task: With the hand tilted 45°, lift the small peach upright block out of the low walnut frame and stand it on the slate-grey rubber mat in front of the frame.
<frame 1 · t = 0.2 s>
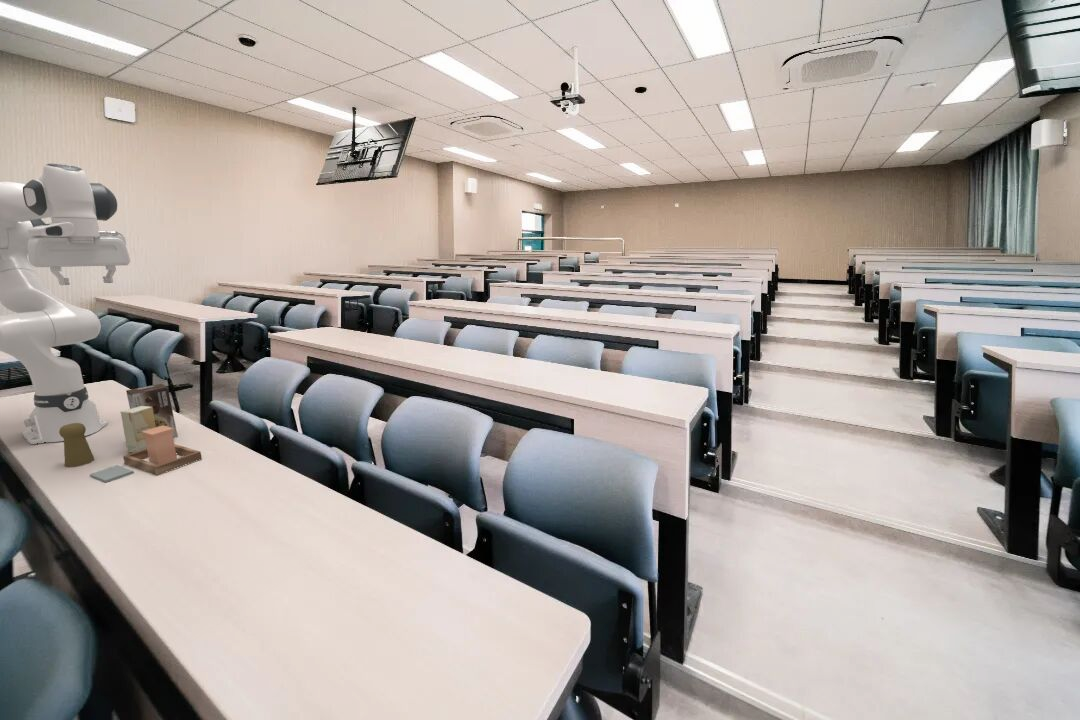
hand: (87, 283, 132), 48 cm above the table, tool pointing down, fingers open, 8 cm apart
skincare box: (144, 449, 145), on the table
walnut frame: (163, 461, 136), on the table
slate mat: (112, 474, 129), on the table
peach upright block: (160, 445, 135), in the walnut frame
coffee box: (157, 439, 153), on the table
cork: (80, 463, 136), on the table
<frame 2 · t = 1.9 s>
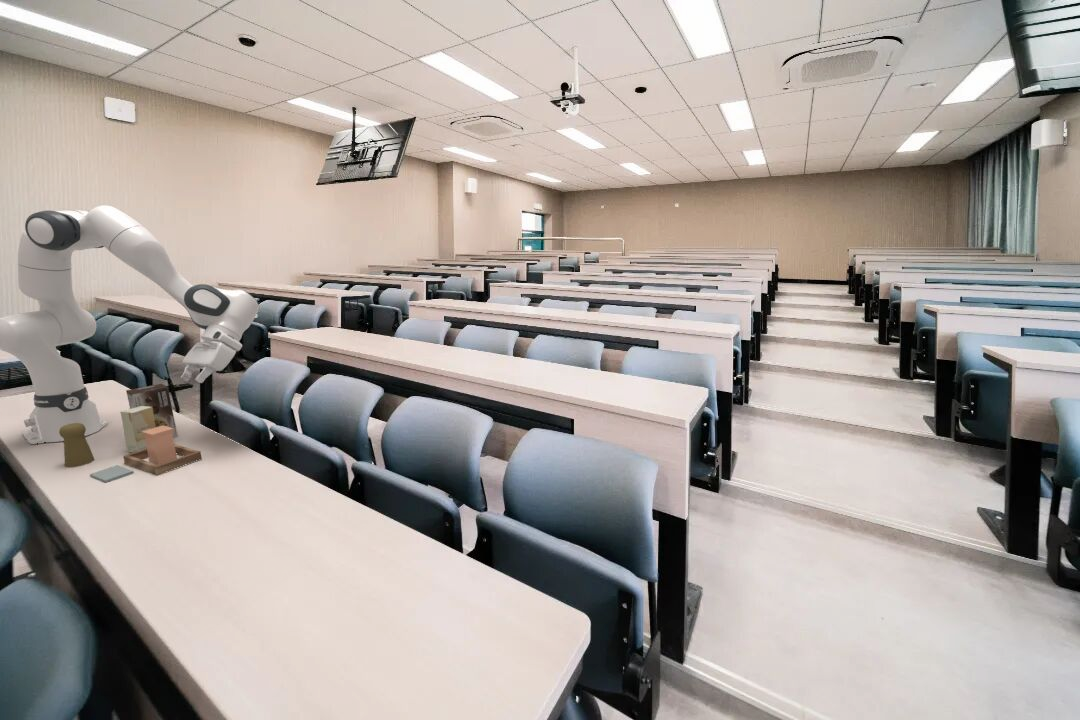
hand: (190, 380, 140), 20 cm above the table, tool tilted 45°, fingers open, 8 cm apart
nothing on the table moved.
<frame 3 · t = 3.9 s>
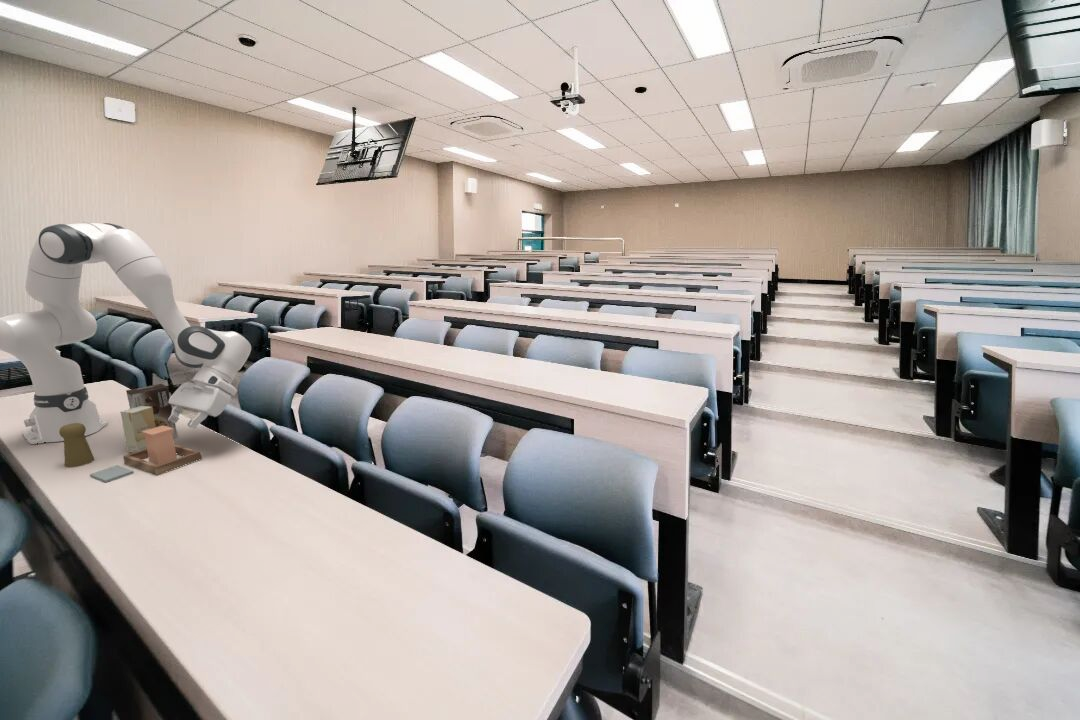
hand: (180, 424, 139), 9 cm above the table, tool tilted 45°, fingers open, 8 cm apart
nothing on the table moved.
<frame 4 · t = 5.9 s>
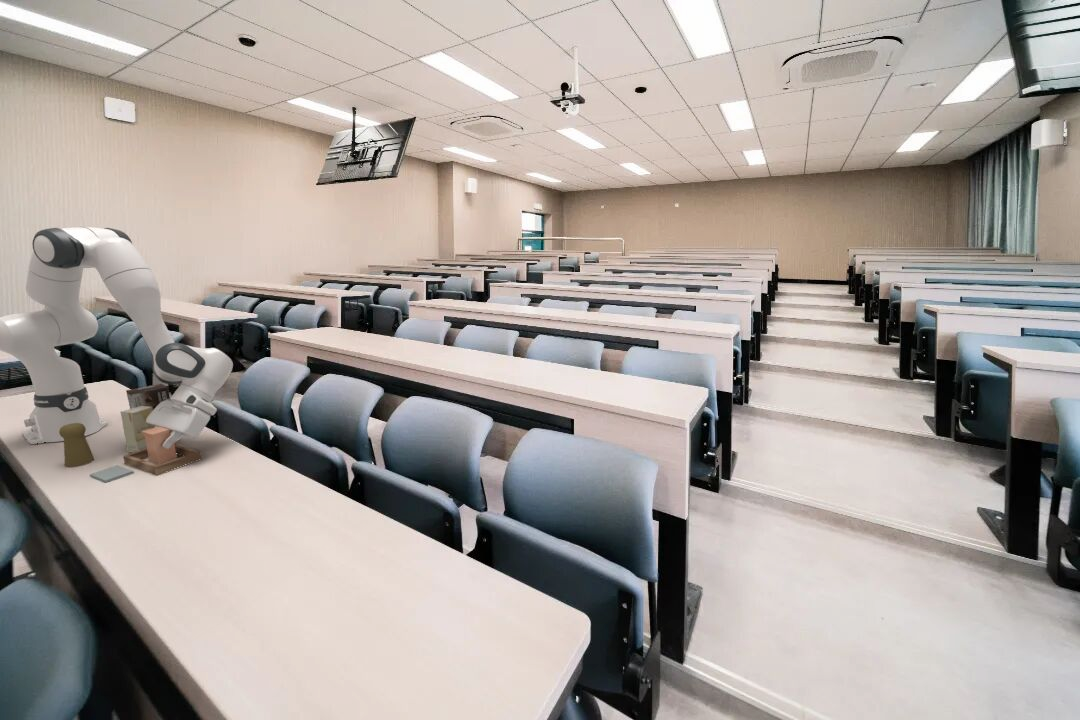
hand: (157, 445, 135), 5 cm above the table, tool tilted 45°, fingers closed on peach upright block, 5 cm apart
peach upright block: (160, 445, 135), in the walnut frame, touching gripper
everything else where it was.
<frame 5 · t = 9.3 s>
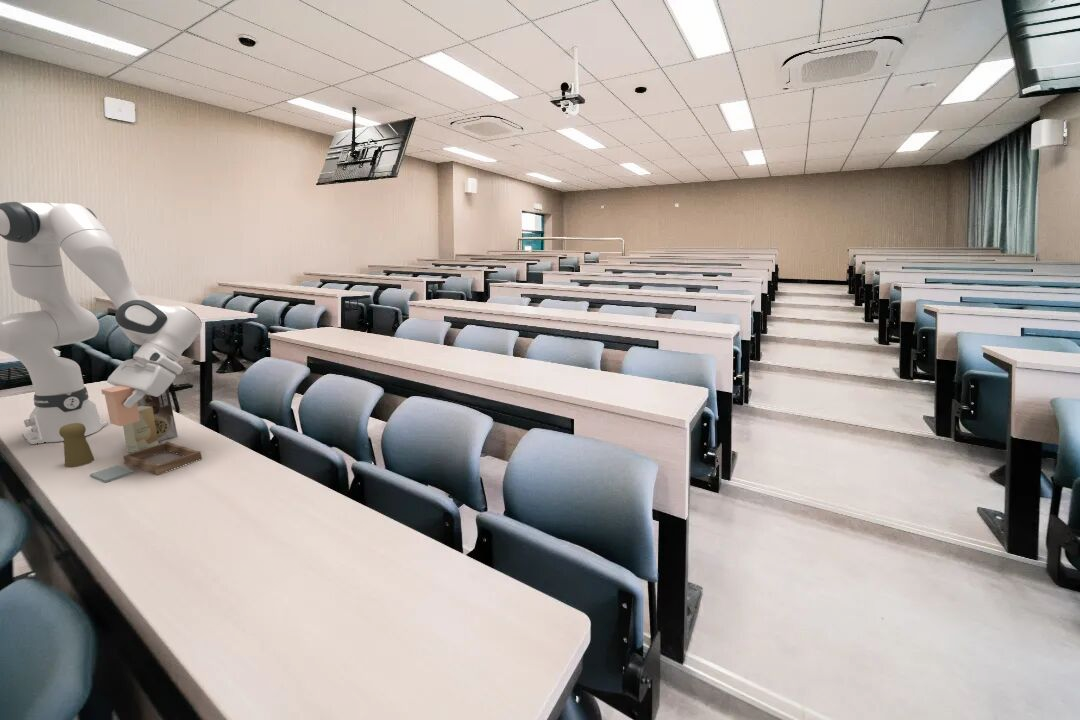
hand: (118, 404, 128), 18 cm above the table, tool tilted 45°, fingers closed on peach upright block, 5 cm apart
peach upright block: (122, 405, 128), point 18 cm above the table, touching gripper
everything else where it was.
when the fingers open (6 cm above the table, at t = 13.0 s): peach upright block stays where it is, resting on slate mat.
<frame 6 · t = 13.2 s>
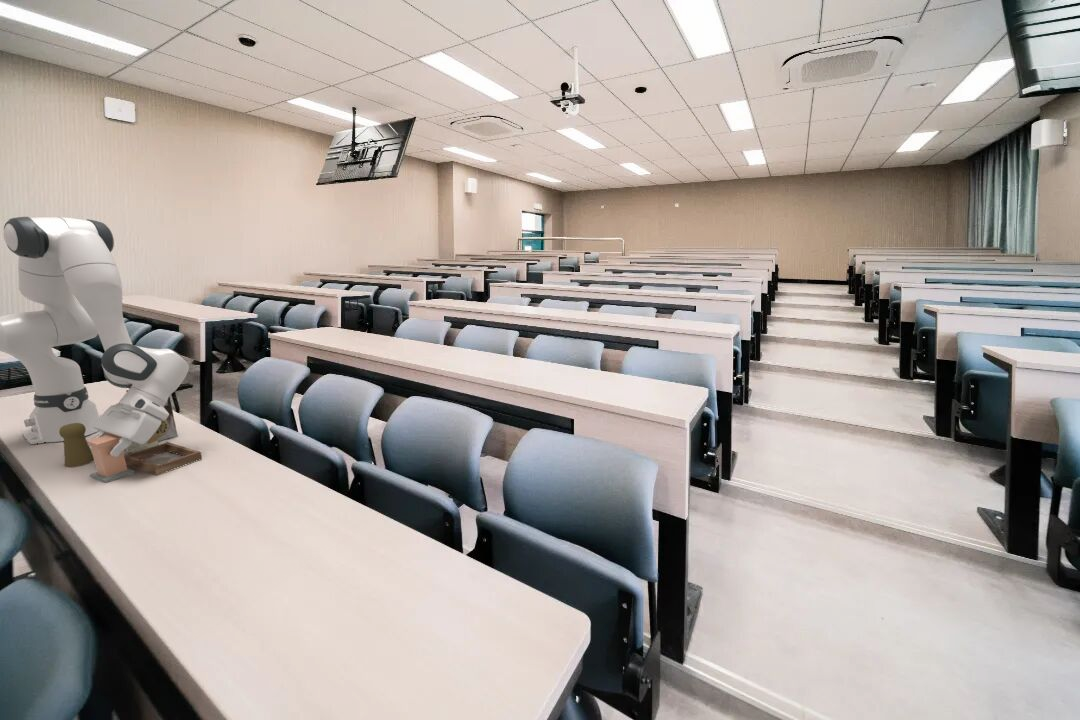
hand: (104, 452, 127), 6 cm above the table, tool tilted 45°, fingers open, 6 cm apart
peach upright block: (108, 455, 128), on the slate mat, point 5 cm above the table
everything else where it was.
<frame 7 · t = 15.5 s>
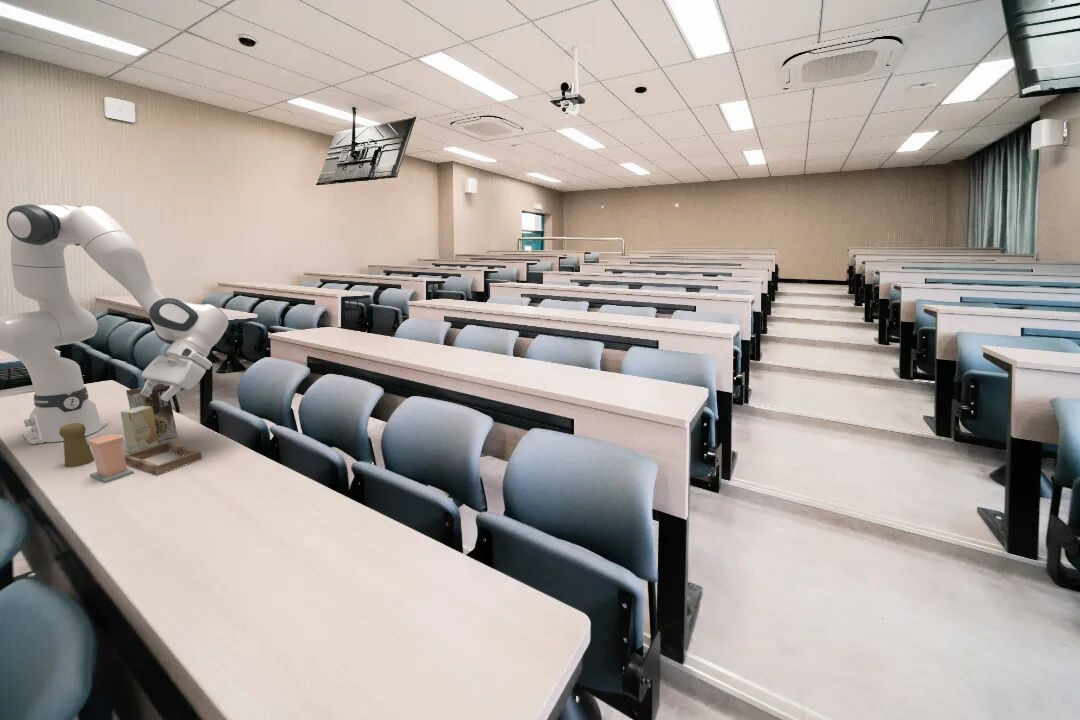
hand: (153, 397, 135), 17 cm above the table, tool tilted 45°, fingers open, 8 cm apart
nothing on the table moved.
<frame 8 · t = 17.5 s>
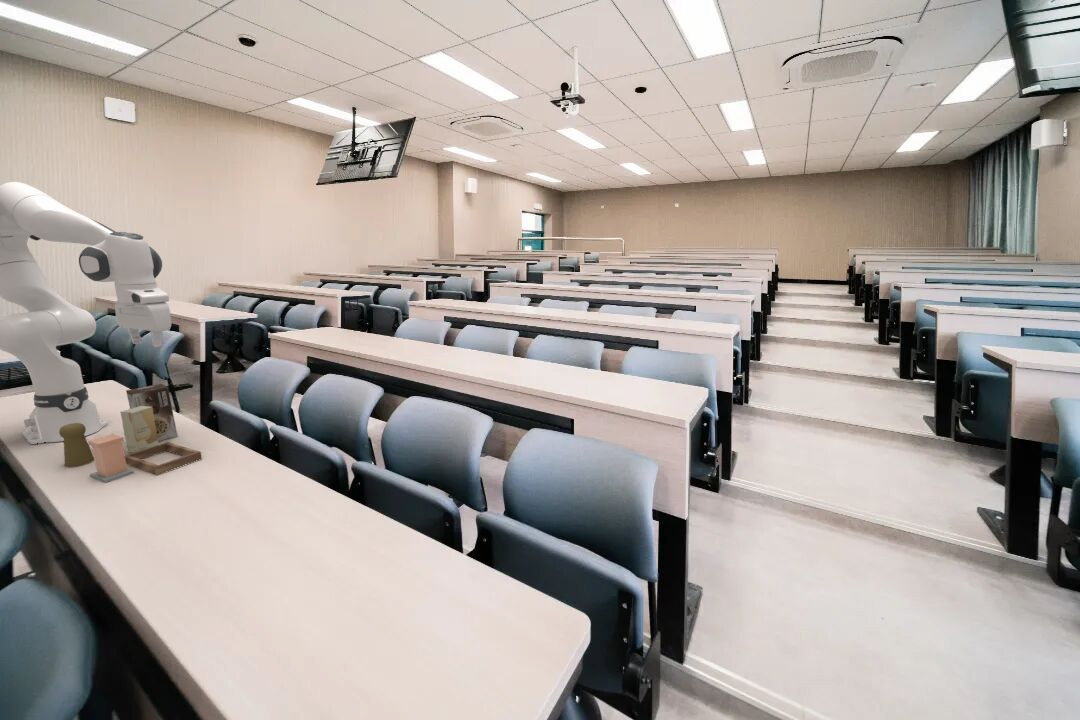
hand: (147, 345, 136), 31 cm above the table, tool pointing down, fingers open, 8 cm apart
nothing on the table moved.
at the end: peach upright block inside the target area (0.3 cm from its centre), point 5.2 cm above the table; peach upright block tilted 0°; the gripper is holding nothing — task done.
